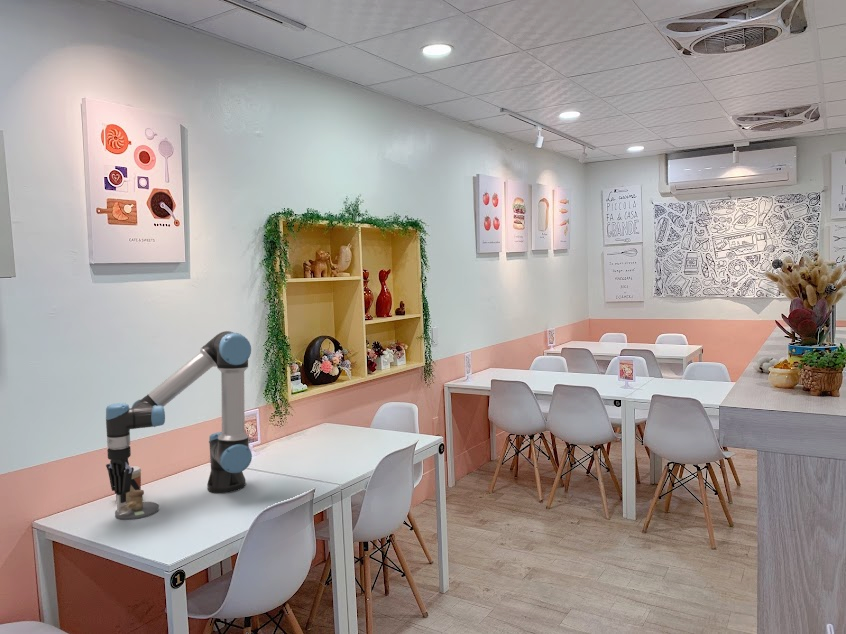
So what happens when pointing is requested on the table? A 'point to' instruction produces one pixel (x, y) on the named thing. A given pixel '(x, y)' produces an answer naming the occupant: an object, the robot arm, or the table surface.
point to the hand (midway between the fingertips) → (121, 510)
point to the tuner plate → (139, 512)
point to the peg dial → (134, 501)
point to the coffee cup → (134, 481)
